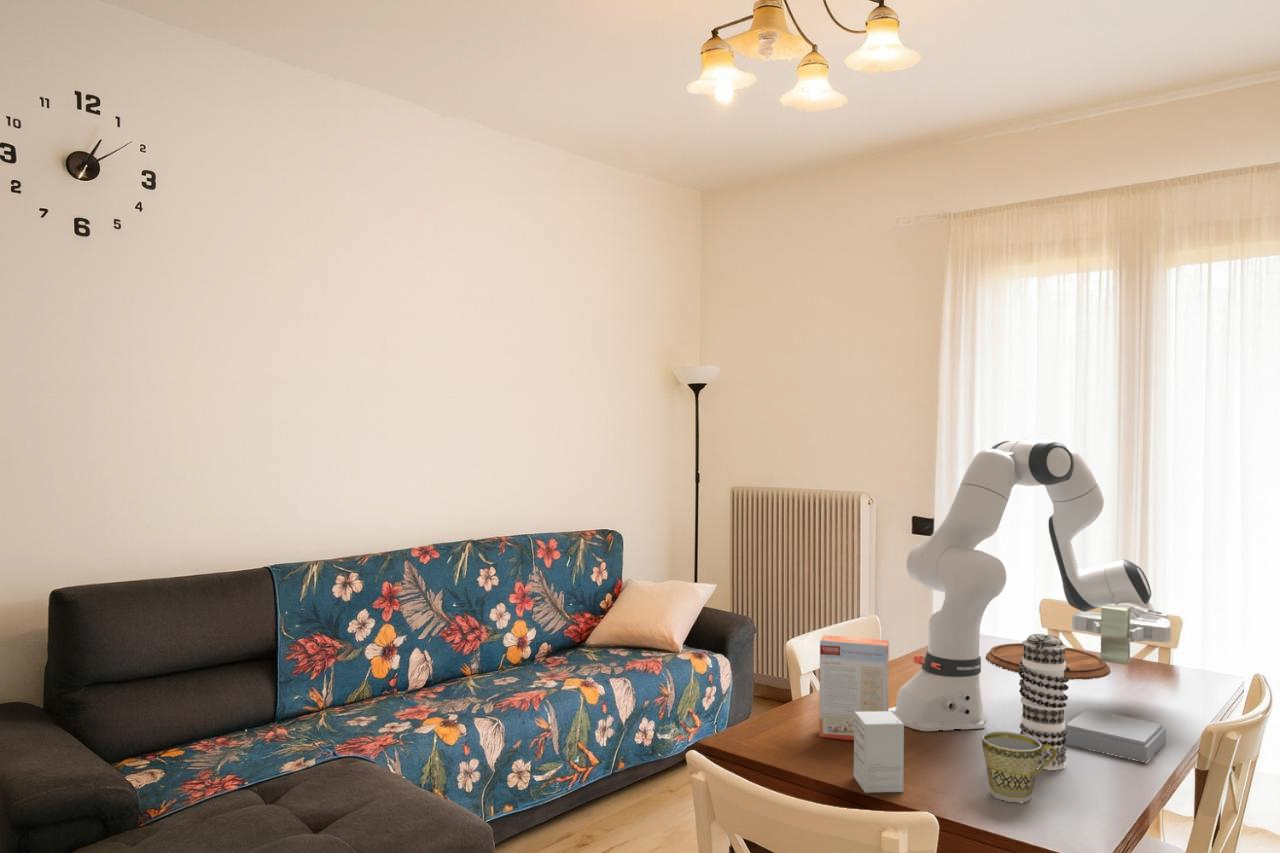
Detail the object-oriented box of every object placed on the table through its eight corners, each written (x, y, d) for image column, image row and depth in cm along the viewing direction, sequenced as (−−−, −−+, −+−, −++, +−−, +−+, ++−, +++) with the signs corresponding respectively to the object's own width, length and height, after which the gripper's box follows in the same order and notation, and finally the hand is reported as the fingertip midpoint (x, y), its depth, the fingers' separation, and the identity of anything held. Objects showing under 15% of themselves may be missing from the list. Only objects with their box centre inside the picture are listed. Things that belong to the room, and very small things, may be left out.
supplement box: (891, 777, 169) (892, 710, 169) (904, 793, 161) (905, 723, 161) (852, 777, 168) (853, 710, 168) (863, 793, 161) (864, 723, 161)
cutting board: (961, 656, 260) (961, 648, 260) (1040, 646, 274) (1040, 638, 274) (1054, 686, 231) (1054, 676, 231) (1136, 673, 245) (1136, 664, 245)
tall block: (1125, 664, 197) (1126, 610, 197) (1100, 661, 200) (1101, 607, 200) (1129, 660, 201) (1130, 607, 201) (1105, 656, 204) (1105, 604, 204)
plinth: (1146, 763, 177) (1147, 743, 177) (1061, 743, 188) (1061, 724, 188) (1165, 743, 189) (1165, 724, 189) (1084, 725, 200) (1084, 707, 200)
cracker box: (888, 736, 191) (889, 639, 191) (886, 746, 185) (887, 645, 185) (822, 728, 195) (823, 633, 195) (818, 737, 190) (819, 639, 190)
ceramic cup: (992, 807, 156) (993, 749, 156) (973, 784, 166) (973, 730, 166) (1068, 809, 155) (1068, 751, 155) (1043, 786, 165) (1044, 732, 165)
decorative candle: (1024, 750, 184) (1026, 629, 184) (1073, 761, 178) (1075, 636, 178) (1011, 763, 176) (1012, 636, 176) (1061, 775, 171) (1062, 644, 171)
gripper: (1078, 603, 217) (1064, 611, 206) (1175, 614, 205) (1166, 625, 194) (1078, 628, 217) (1064, 639, 206) (1175, 642, 205) (1166, 654, 194)
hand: (1114, 632), depth 200 cm, fingers closed on tall block, 5 cm apart
